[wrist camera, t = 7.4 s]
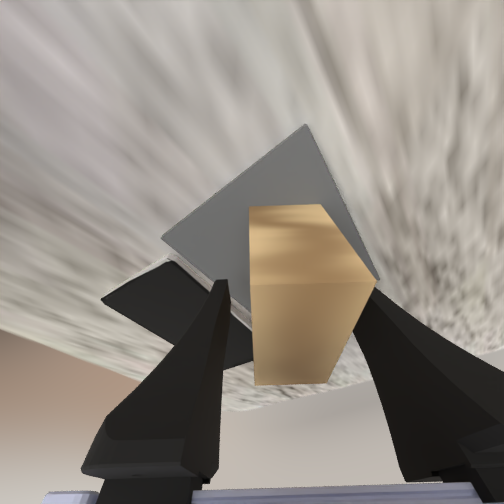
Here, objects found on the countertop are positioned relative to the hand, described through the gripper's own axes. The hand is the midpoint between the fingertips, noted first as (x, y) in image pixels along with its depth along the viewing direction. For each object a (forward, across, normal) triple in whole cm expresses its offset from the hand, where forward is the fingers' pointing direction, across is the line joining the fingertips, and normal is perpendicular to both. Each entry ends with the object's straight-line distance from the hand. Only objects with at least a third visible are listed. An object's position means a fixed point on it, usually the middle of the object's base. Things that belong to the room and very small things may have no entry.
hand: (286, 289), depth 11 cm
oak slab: (+3, 0, 0) cm, 3 cm away
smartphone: (+4, +7, +8) cm, 11 cm away
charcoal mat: (+3, 0, 0) cm, 3 cm away
